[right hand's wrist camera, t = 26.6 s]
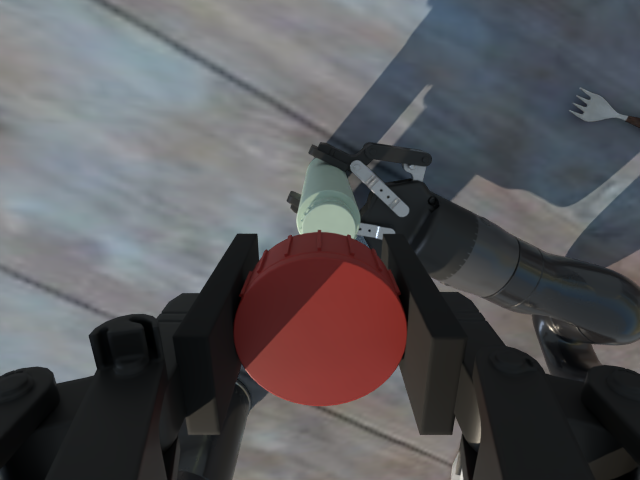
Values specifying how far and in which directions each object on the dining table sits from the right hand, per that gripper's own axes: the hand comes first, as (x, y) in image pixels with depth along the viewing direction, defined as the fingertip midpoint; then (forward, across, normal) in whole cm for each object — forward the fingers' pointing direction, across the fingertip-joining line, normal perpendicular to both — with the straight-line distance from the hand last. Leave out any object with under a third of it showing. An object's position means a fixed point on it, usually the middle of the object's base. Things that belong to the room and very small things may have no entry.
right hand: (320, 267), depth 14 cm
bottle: (+28, +1, -1) cm, 28 cm away
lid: (-4, 0, 0) cm, 4 cm away
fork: (+28, +32, +4) cm, 43 cm away
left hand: (+22, -2, 0) cm, 22 cm away
